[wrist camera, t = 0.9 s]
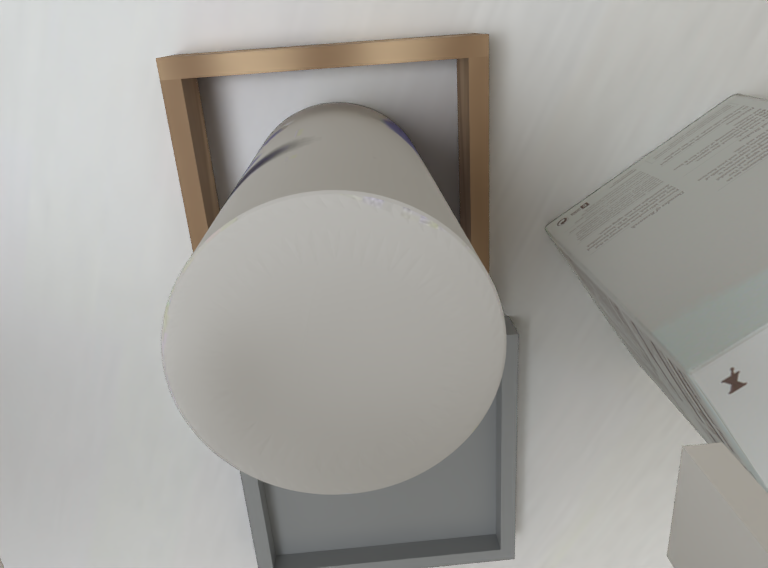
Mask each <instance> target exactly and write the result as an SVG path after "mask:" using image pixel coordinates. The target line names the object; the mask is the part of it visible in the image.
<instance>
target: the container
mask: <svg viewBox="0 0 768 568" xmlns="http://www.w3.org/2000/svg"><path fill="white" fill-rule="evenodd" d="M506 343H507V341H506V325H505V319H504V313H503V309H502V305H501V302H500V299H499V296H498V293H497V291H496V288H495V286H494V284H493V282H492V280H491V278H490V276H489V274H488V272H487V271H486V269H485V267H484V265H483V264H482V262H481V260H480V259H479V257H478V255H477V253H476V252H475V250H474V248H473V247H472V245H471V243H470V241H469V240H468V238H467V236H466V235H465V233H464V231H463V229H462V228H461V226H460V224H459V223H458V221H457V219H456V217H455V216H454V214H453V212H452V211H451V209H450V207H449V205H448V204H447V202H446V200H445V199H444V197H443V195H442V193H441V192H440V190H439V188H438V187H437V185H436V183H435V181H434V180H433V178H432V176H431V174H430V173H429V171H428V169H427V168H426V166H425V164H424V163H423V161H422V159H421V157H420V156H419V154H418V152H417V150H416V149H415V147H414V145H413V144H412V142H411V141H410V139H409V138H408V137H407V135H406V134H405V133H404V132H403V131H402V130H401V129H400V128H399V127H398V126H397V125H396V124H395V123H394V122H392V121H391V120H390V119H388V118H387V117H385V116H384V115H382V114H380V113H378V112H376V111H374V110H372V109H369V108H367V107H364V106H360V105H356V104H350V103H325V104H320V105H315V106H312V107H309V108H306V109H304V110H301V111H299V112H297V113H295V114H293V115H292V116H290V117H289V118H287V119H286V120H285V121H283V122H282V123H281V124H280V125H279V126H277V127H276V128H275V130H274V131H273V132H272V133H271V134H270V135H269V137H268V138H267V139H266V141H265V142H264V144H263V145H262V147H261V149H260V150H259V152H258V153H257V155H256V156H255V158H254V159H253V161H252V162H251V164H250V166H249V167H248V169H247V170H246V172H245V173H244V175H243V176H242V178H241V180H240V181H239V183H238V184H237V186H236V187H235V189H234V190H233V192H232V194H231V195H230V197H229V198H228V200H227V202H226V203H225V205H224V206H223V208H222V209H221V211H220V212H219V214H218V215H217V217H216V218H215V220H214V221H213V223H212V224H211V226H210V228H209V229H208V231H207V232H206V234H205V235H204V237H203V238H202V240H201V242H200V243H199V245H198V246H197V248H196V249H195V251H194V252H193V254H192V255H191V257H190V259H189V260H188V262H187V263H186V265H185V266H184V268H183V270H182V271H181V273H180V275H179V276H178V278H177V280H176V282H175V284H174V286H173V289H172V291H171V293H170V296H169V299H168V302H167V305H166V309H165V313H164V318H163V324H162V333H161V353H162V362H163V368H164V373H165V377H166V380H167V384H168V387H169V390H170V392H171V395H172V397H173V399H174V402H175V404H176V406H177V408H178V409H179V411H180V413H181V415H182V416H183V418H184V419H185V421H186V422H187V424H188V425H189V426H190V428H191V429H192V430H193V432H194V433H195V434H196V435H197V436H198V437H199V439H200V440H201V441H202V442H203V443H204V444H205V445H206V446H207V447H208V448H210V449H211V450H212V451H213V452H214V453H215V454H217V455H218V456H219V457H220V458H222V459H223V460H224V461H226V462H227V463H229V464H230V465H232V466H233V467H235V468H237V469H238V470H240V471H242V472H244V473H245V474H247V475H249V476H251V477H254V478H256V479H258V480H260V481H263V482H266V483H268V484H271V485H274V486H277V487H281V488H285V489H289V490H293V491H298V492H304V493H312V494H325V495H340V494H355V493H362V492H368V491H373V490H378V489H382V488H385V487H389V486H392V485H395V484H398V483H401V482H403V481H406V480H408V479H411V478H413V477H415V476H417V475H419V474H421V473H423V472H425V471H427V470H428V469H430V468H432V467H433V466H435V465H436V464H438V463H439V462H441V461H442V460H444V459H445V458H446V457H448V456H449V455H450V454H451V453H453V452H454V451H455V450H456V449H457V448H458V447H459V446H460V445H461V444H462V443H463V442H464V441H465V440H466V439H467V438H468V437H469V436H470V435H471V434H472V433H473V431H474V430H475V429H476V428H477V426H478V425H479V424H480V422H481V421H482V419H483V418H484V416H485V415H486V413H487V411H488V410H489V408H490V406H491V404H492V402H493V400H494V398H495V395H496V393H497V390H498V388H499V385H500V382H501V378H502V374H503V370H504V365H505V358H506Z"/></svg>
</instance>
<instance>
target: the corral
mask: <svg viewBox="0 0 768 568" xmlns="http://www.w3.org/2000/svg"><path fill="white" fill-rule="evenodd" d="M445 59H457V95H458V144H459V194H460V226H461V228H462V229H463V231H464V233H465V235H466V236H467V238H468V240H469V241H470V243H471V245H472V247H473V248H474V250H475V252H476V253H477V255H478V257H479V259H480V260H481V262H482V264H483V265H484V267H485V269H486V271H487V272H488V274H489V34H478V33H471V34H457V35H443V36H430V37H416V38H402V39H388V40H374V41H360V42H347V43H333V44H319V45H305V46H291V47H277V48H263V49H250V50H236V51H222V52H208V53H194V54H180V55H171V56H166V57H161V58H156V62H157V67H158V73H159V78H160V83H161V88H162V93H163V99H164V104H165V109H166V114H167V119H168V124H169V130H170V135H171V140H172V145H173V150H174V155H175V161H176V166H177V171H178V176H179V181H180V186H181V192H182V197H183V202H184V207H185V212H186V218H187V223H188V228H189V233H190V238H191V243H192V249H193V252H194V251H195V249H196V248H197V246H198V245H199V243H200V242H201V240H202V238H203V237H204V235H205V234H206V232H207V231H208V229H209V228H210V226H211V224H212V223H213V221H214V220H215V218H216V217H217V215H218V214H219V212H220V209H219V203H218V197H217V191H216V186H215V180H214V174H213V168H212V162H211V156H210V151H209V145H208V139H207V133H206V127H205V121H204V116H203V110H202V104H201V98H200V92H199V86H198V81H197V78H200V77H213V76H227V75H241V74H254V73H268V72H281V71H295V70H309V69H322V68H336V67H350V66H363V65H377V64H390V63H404V62H418V61H431V60H445Z"/></svg>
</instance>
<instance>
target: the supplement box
mask: <svg viewBox="0 0 768 568" xmlns="http://www.w3.org/2000/svg"><path fill="white" fill-rule="evenodd" d="M545 230H546V232H547V233H548V235H549V236H550V237H551V239H552V240H553V242H554V243H555V245H556V246H557V248H558V249H559V251H560V252H561V253H562V255H563V256H564V258H565V259H566V261H567V262H568V264H569V265H570V266H571V268H572V269H573V271H574V272H575V274H576V275H577V277H578V278H579V279H580V281H581V282H582V284H583V285H584V287H585V288H586V290H587V291H588V293H589V294H590V295H591V297H592V298H593V300H594V301H595V303H596V304H597V306H598V307H599V309H600V310H601V311H602V313H603V314H604V316H605V317H606V319H607V320H608V322H609V323H610V325H611V326H612V327H613V329H614V330H615V332H616V333H617V335H618V336H619V337H620V339H621V340H622V342H623V343H624V345H625V346H626V347H627V349H628V350H629V352H630V353H631V354H632V356H633V357H634V359H635V360H636V361H637V363H638V364H639V365H640V367H641V368H642V369H643V370H644V371H645V372H646V373H647V374H648V375H649V376H650V377H651V379H652V380H653V381H654V382H655V383H656V384H657V385H658V387H659V388H660V389H661V390H662V391H663V392H664V394H665V395H666V396H667V397H668V398H669V399H670V400H671V402H672V403H673V404H674V405H675V406H676V407H677V409H678V410H679V411H680V412H681V413H682V414H683V416H684V417H685V418H686V419H687V420H688V421H689V422H690V424H691V425H692V426H693V427H694V428H695V429H696V430H697V432H698V433H699V434H700V435H701V436H702V437H703V438H704V440H705V441H706V442H707V443H708V444H709V443H720V442H722V443H723V444H724V445H725V446H726V447H727V448H728V450H729V451H730V452H731V453H732V454H733V455H734V456H735V457H736V458H737V460H738V461H739V462H740V463H741V464H742V465H743V466H744V467H745V469H746V470H747V471H748V472H749V473H750V474H751V475H752V476H753V477H754V479H755V480H756V481H757V482H758V483H759V484H760V485H761V486H762V488H763V489H764V490H765V491H766V492H767V493H768V100H765V99H760V98H755V97H750V96H745V95H741V94H736V95H733V96H731V97H730V98H728V99H726V100H725V101H723V102H722V103H721V104H719V105H718V106H716V107H715V108H713V109H712V110H711V111H709V112H708V113H706V114H705V115H703V116H702V117H701V118H699V119H698V120H696V121H695V122H694V123H692V124H691V125H689V126H688V127H686V128H685V129H684V130H682V131H681V132H679V133H678V134H677V135H675V136H674V137H672V138H671V139H669V140H668V141H667V142H665V143H664V144H662V145H661V146H659V147H658V148H657V149H655V150H654V151H652V152H651V153H650V154H648V155H647V156H645V157H644V158H642V159H641V160H639V161H638V162H637V163H635V164H634V165H632V166H631V167H630V168H628V169H627V170H625V171H624V172H623V173H621V174H620V175H618V176H617V177H615V178H614V179H612V180H611V181H610V182H608V183H607V184H605V185H604V186H602V187H601V188H600V189H598V190H597V191H595V192H594V193H593V194H591V195H590V196H588V197H587V198H586V199H584V200H583V201H581V202H580V203H578V204H577V205H576V206H574V207H573V208H571V209H570V210H568V211H567V212H566V213H564V214H563V215H561V216H560V217H558V218H557V219H556V220H554V221H553V222H551V223H550V224H548V225H547V226H546V227H545Z"/></svg>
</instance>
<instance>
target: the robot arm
mask: <svg viewBox="0 0 768 568" xmlns="http://www.w3.org/2000/svg"><path fill="white" fill-rule="evenodd" d="M667 557H668V559H669V560H670V562H671V564H672V565H673V567H674V568H768V493H767V492H766V491H765V490H764V489H763V488H762V486H761V485H760V484H759V483H758V482H757V481H756V480H755V479H754V477H753V476H752V475H751V474H750V473H749V472H748V471H747V470H746V469H745V467H744V466H743V465H742V464H741V463H740V462H739V461H738V460H737V458H736V457H735V456H734V455H733V454H732V453H731V452H730V451H729V450H728V448H727V447H726V446H725V445H724V444H723V443H722V442H720V443H709V444H698V445H687V446H682V452H681V459H680V466H679V473H678V480H677V487H676V494H675V501H674V509H673V516H672V523H671V530H670V537H669V544H668V551H667ZM0 568H4V566H3V564H2V561H1V559H0Z"/></svg>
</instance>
